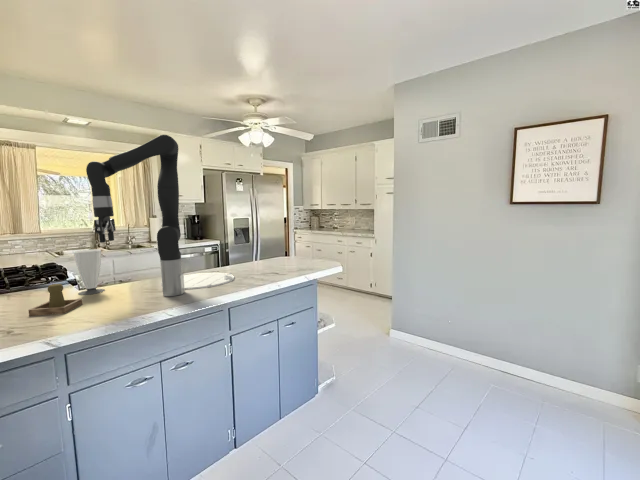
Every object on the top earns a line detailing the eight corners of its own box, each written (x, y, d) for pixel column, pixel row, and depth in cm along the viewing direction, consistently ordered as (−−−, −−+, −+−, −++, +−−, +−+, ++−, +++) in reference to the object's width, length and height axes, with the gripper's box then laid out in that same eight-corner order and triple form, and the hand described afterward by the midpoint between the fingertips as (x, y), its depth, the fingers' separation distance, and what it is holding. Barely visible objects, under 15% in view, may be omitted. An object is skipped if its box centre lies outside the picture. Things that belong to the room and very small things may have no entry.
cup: (91, 295, 161) (86, 252, 159) (72, 294, 164) (67, 252, 162) (110, 289, 173) (106, 249, 170) (92, 289, 175) (88, 249, 173)
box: (82, 304, 146) (82, 298, 146) (64, 313, 134) (64, 307, 133) (50, 306, 144) (49, 300, 144) (29, 315, 131) (28, 309, 131)
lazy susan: (244, 274, 205) (244, 268, 205) (219, 289, 167) (219, 283, 166) (184, 274, 209) (183, 269, 209) (146, 290, 171) (145, 283, 170)
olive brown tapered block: (64, 306, 143) (61, 282, 142) (68, 309, 139) (65, 283, 138) (47, 310, 139) (44, 284, 138) (50, 312, 135) (47, 286, 134)
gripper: (104, 205, 143) (109, 242, 145) (118, 206, 157) (122, 239, 159) (85, 206, 142) (90, 243, 144) (101, 206, 156) (105, 240, 158)
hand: (107, 241), depth 151 cm, fingers open, 8 cm apart
